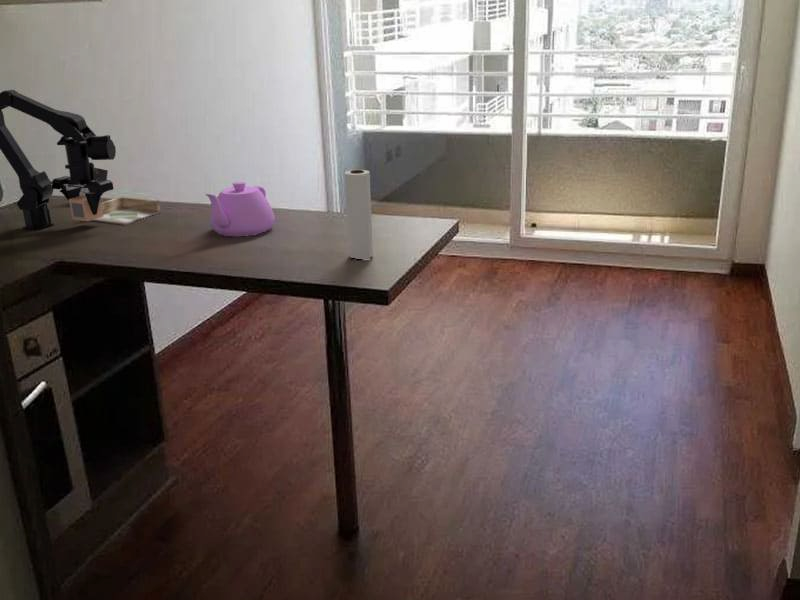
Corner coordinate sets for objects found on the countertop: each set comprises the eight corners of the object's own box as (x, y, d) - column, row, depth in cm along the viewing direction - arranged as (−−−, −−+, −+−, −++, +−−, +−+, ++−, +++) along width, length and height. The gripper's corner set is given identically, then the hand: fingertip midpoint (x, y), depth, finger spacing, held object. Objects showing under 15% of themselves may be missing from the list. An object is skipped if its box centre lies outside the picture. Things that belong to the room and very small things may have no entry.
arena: (124, 224, 234) (122, 211, 232) (86, 220, 240) (84, 207, 239) (160, 213, 246) (158, 200, 245) (123, 209, 253) (121, 196, 251)
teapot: (243, 217, 238) (238, 172, 233) (292, 223, 230) (288, 176, 226) (186, 239, 217) (180, 189, 213) (238, 246, 210) (233, 195, 205)
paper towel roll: (351, 253, 201) (346, 168, 193) (374, 253, 200) (371, 168, 192) (346, 261, 194) (341, 174, 186) (370, 262, 193) (367, 174, 186)
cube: (86, 221, 229) (83, 200, 226) (71, 219, 231) (68, 199, 229) (103, 216, 234) (99, 196, 232) (88, 214, 236) (84, 194, 234)
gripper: (123, 157, 229) (131, 210, 235) (76, 153, 237) (85, 205, 243) (93, 164, 220) (102, 219, 225) (46, 160, 228) (55, 213, 233)
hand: (87, 213), depth 232 cm, fingers closed on cube, 6 cm apart
